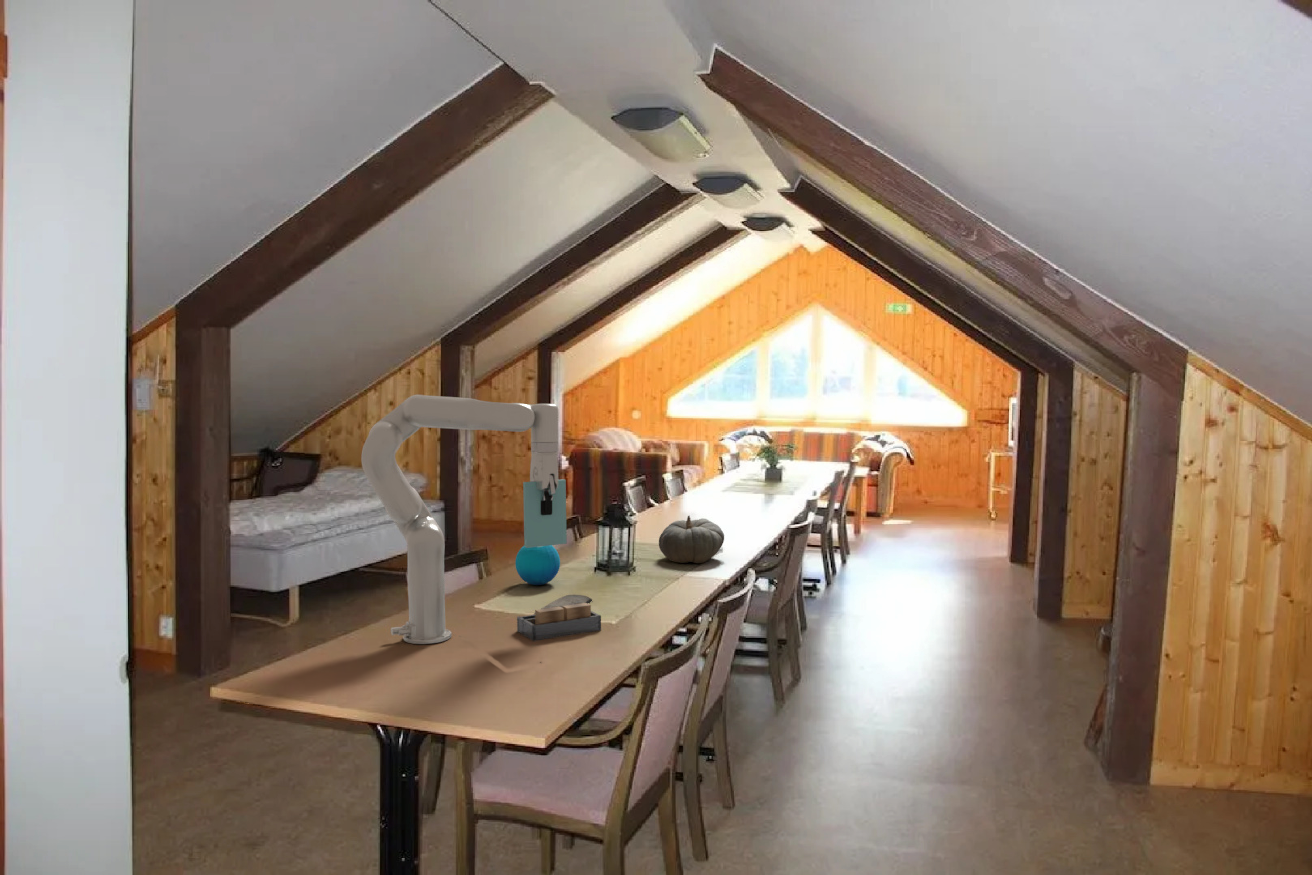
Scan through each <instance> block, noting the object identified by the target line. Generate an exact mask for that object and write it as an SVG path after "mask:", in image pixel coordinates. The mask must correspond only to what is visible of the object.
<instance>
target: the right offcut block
mask: <svg viewBox="0 0 1312 875" xmlns="http://www.w3.org/2000/svg"><path fill="white" fill-rule="evenodd" d="M591 606H592V605H591V604H590V603H589V604H587V603H581V604H574V605H567V606H563V609H564V620H570V619H577V618H583V617H590V616H591V611H592V610H591V609H592V608H591Z"/></svg>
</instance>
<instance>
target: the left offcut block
mask: <svg viewBox="0 0 1312 875" xmlns="http://www.w3.org/2000/svg"><path fill="white" fill-rule="evenodd" d="M534 611H535V612H534V613H535V625H537V624H543V623H550V622H557V621H563V620H564V609H563V608H561V607H553V608H546V609H541V608H540V609H534Z"/></svg>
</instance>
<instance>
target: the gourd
mask: <svg viewBox="0 0 1312 875" xmlns="http://www.w3.org/2000/svg"><path fill="white" fill-rule="evenodd" d="M724 541H725V534H724V532H723V530H722V528H721V526H719V525H718V524H717V523H714V522H712V521H711V520H709V519H707V518H699V519H691V517H690V515H687V518H686V520H683V519H681V520H675V521H673V522H671V523H670V524H669V525H668V526H666V527H665V528H664V530H662V532H661V533H660V536H659V537H658V546H659V550H660V551H661V553H662V554H663V556H664V557H665V558H666V559H668V560H669V561H670V562H674V563H680V564H687V563H689V562H692V563H694V564H703V563H706V562H707V561H709V560H710V559H712V558H713V557H714V556H715V555H716V554H717V553H719V552H720V550H721V548H722V547H723V544H724Z"/></svg>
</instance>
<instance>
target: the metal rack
mask: <svg viewBox="0 0 1312 875" xmlns="http://www.w3.org/2000/svg"><path fill="white" fill-rule="evenodd" d="M516 623H517V624H516V628H517V629H516V630H517V632H518V633H519V634H520V635H523V636H524V637H525V638H528V639H529V640H531V641H533V642H536V641H542V640H543V641H544V640H549V639H554V638H560V637H567V636H573V635H574V636H575V635H579V634H586V633H591V632H593V633H594V632H599V631H602V616H601V615H600V614H599V613H596V612H594V611H592V610H591V616H590V617H583V618H577V619H570V620H563V621H557V622H550V623H543V624H537V625H535V615H533V614H531V615H530V614H529V615H523V616H520V615H519V616H516Z"/></svg>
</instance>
